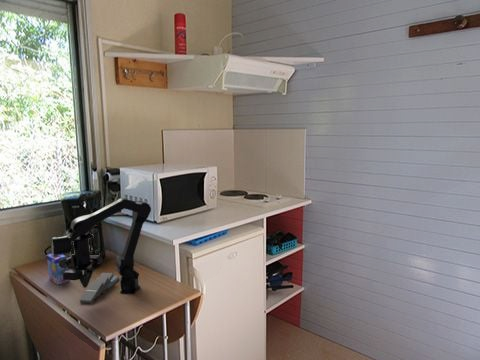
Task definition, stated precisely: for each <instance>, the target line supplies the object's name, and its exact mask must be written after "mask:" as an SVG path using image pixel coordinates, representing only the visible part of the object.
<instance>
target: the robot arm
mask: <svg viewBox="0 0 480 360" xmlns="http://www.w3.org/2000/svg"><path fill="white" fill-rule="evenodd" d="M124 209H126V210H129V211H131V213H132V214H131V215H132V220H131V221H132V222H131V225H130V227H129V231H128V236H127V239H126V242H125V245H124V248H123V251H122V253H121V254H120V255H117V256H116V260H115V262H114V267H115V268H114V269H115V270H116V272H117V273H118V274H119V275H120V276H121V277H120V282H119V284H120V291H119V292H120V294H136V292H137V291H138V290H140V288H141V285H139V276H140V273H139V272H138V271H137V270H136V269H135V268H134V266H135V261H134V260H135V259H134V258H135V257H134V256H135V252H136V248H137V247H138V246H137V245H138V243H139V239H140V236H141V232H142V229H143V225H144V224H145V222H146V221H147V219H148V218H149V217H150V214H151V212H152V207H151V205H150V204H149V203H147V202H145V201H143V200H137V201H135V200H132V199H126V198H124V197H121V198H118V199H117V200H115V201H113V202H112V203H110V204H108V205H105V206H103V207H102V208H100V209H99V210H96V211H95V212H93V213H90V214H86V215H81V216H78V217H76V218H74V219H73V220H72V221H71V224H70V227H69V229H68V231H67V232H66V234H65V235H64V236H58V237H55V236H54V237H51V251H52V252H51V253H53V256H56V255H61V254H63V255H65V254H70V256H68V257H67V258H64V259H61V260H59V266H60V267H61V268H63V269H65V268H67V267H68V270H67V271H65V272H64V273H63V274H62V277H63V280H70V281H78V280H79V282H80V284H81V285H82V288H85V289H87V288H88V287H89V284H90V281H91V279H92V275H93V273H94V272H95V270H96V267H93V266H92V265H93V264H94V263H96V264H97V265H101V264H102V263H103V257H102V256H101V255H100V254H99V255H90V254H92V251H90V245H89V239H90V238H94V235H93V234H91V233H90V232H89V231H90V230H91V229H92V228H93V227H94V226H97V225H98V224H99V223H101V222H103V221H104V220H106V219H108V218H110V217H112V216H114V215H115V214H117V213H119V212H121V211H122V210H124ZM72 242H73V245H74V254H72V255H71V252H70V251H71V250H72ZM70 267H71V268H70Z"/></svg>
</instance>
